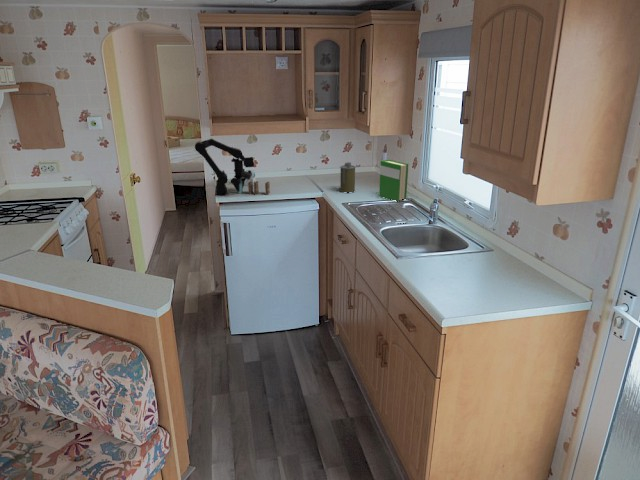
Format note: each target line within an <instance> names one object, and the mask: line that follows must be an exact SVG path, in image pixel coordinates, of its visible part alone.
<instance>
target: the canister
mask: <svg viewBox="0 0 640 480" xmlns="http://www.w3.org/2000/svg"><path fill="white" fill-rule="evenodd" d="M339 168H340V185H339V187H340V189H339V192H340V191H341V192H340V193H342V192H353V193H355V192H356V190H355V188H356V166H355V165H352V162H351V161H350V162H349V161H348V162H345V163H344V165H340V166H339ZM354 191H355V192H354Z"/></svg>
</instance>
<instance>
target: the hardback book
mask: <svg viewBox="0 0 640 480" xmlns="http://www.w3.org/2000/svg"><path fill="white" fill-rule="evenodd" d="M408 175H409V163H405V162H401V161H397V160H392V159H385V160H380V169H379V191H378V194H379V195H378V196H379V197H380V196H382V197H381V198H383V197H385V198H384V199H386V198H388V199H387V200H389V199H392V200H396V201H399V200H400V201H403V200H402V199H406V200H407V191H408V177H409V176H408ZM392 200H391V201H392ZM400 201H399V202H400Z"/></svg>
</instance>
